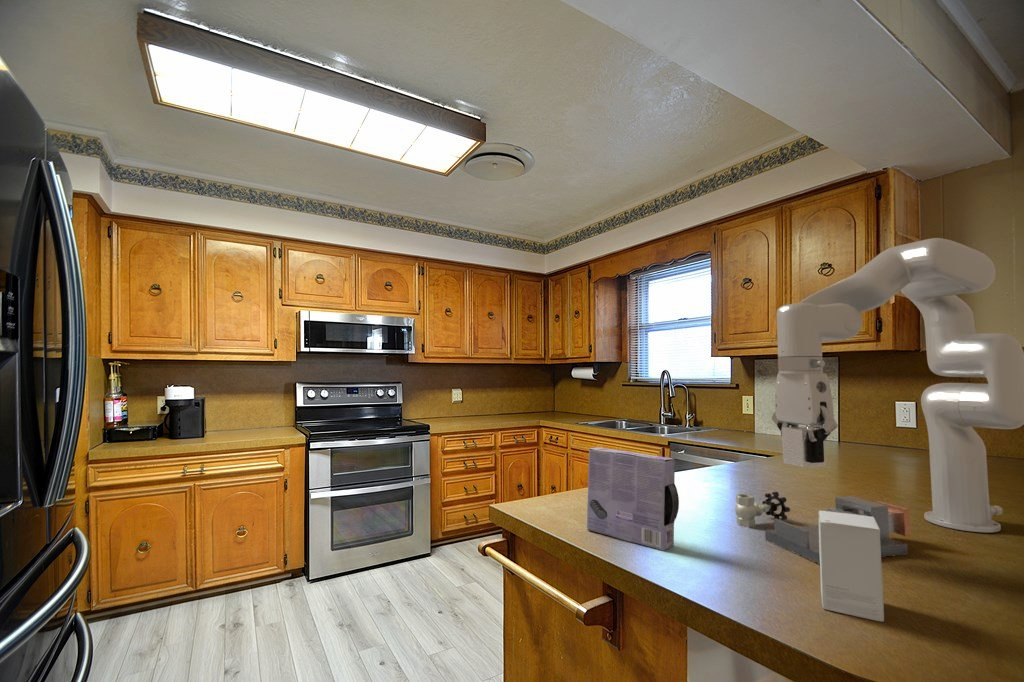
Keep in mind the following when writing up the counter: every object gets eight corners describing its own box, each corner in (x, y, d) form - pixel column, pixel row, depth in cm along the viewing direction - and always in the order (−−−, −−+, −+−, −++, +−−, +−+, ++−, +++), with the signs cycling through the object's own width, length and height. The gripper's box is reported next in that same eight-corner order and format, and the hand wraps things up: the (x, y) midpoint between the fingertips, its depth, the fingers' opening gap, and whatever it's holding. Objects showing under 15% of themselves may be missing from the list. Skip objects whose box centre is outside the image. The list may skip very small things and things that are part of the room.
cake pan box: (681, 546, 95) (679, 456, 96) (669, 553, 92) (667, 459, 93) (598, 525, 108) (597, 446, 109) (585, 531, 105) (584, 448, 106)
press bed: (845, 532, 103) (843, 492, 104) (907, 554, 91) (905, 509, 91) (765, 539, 99) (764, 498, 99) (819, 564, 86) (817, 516, 87)
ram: (880, 526, 101) (879, 500, 101) (909, 535, 95) (908, 508, 96) (825, 531, 98) (824, 505, 98) (852, 541, 92) (851, 513, 92)
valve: (751, 531, 104) (790, 524, 109) (750, 500, 105) (789, 495, 109) (727, 522, 111) (765, 516, 115) (726, 493, 111) (764, 488, 115)
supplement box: (885, 623, 66) (881, 529, 67) (821, 609, 70) (817, 520, 71) (879, 601, 72) (875, 515, 73) (820, 590, 76) (817, 508, 77)
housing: (809, 461, 97) (807, 426, 98) (830, 465, 93) (829, 429, 93) (783, 462, 96) (781, 427, 96) (803, 467, 91) (802, 430, 92)
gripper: (855, 366, 88) (859, 467, 87) (782, 366, 104) (786, 451, 103) (820, 366, 86) (825, 469, 85) (753, 366, 103) (755, 453, 102)
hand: (803, 458), depth 94 cm, fingers closed on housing, 5 cm apart
